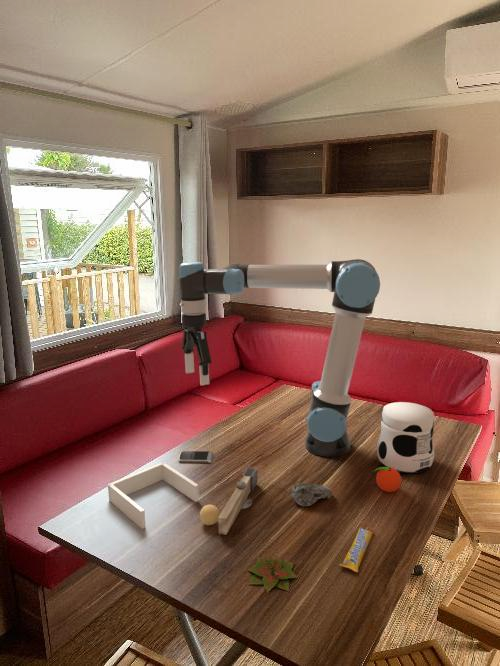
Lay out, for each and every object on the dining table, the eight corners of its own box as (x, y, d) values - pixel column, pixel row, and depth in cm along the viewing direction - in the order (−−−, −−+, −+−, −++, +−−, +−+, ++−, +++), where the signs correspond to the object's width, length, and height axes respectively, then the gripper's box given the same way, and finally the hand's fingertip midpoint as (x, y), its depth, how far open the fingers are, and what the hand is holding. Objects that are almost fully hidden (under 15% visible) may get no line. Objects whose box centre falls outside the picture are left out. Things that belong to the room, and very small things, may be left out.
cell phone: (180, 454, 163) (180, 450, 163) (213, 455, 163) (213, 451, 163) (177, 464, 157) (177, 460, 157) (212, 464, 157) (211, 460, 157)
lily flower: (302, 561, 113) (302, 544, 112) (295, 600, 102) (295, 582, 101) (251, 553, 116) (251, 537, 115) (239, 591, 104) (239, 572, 103)
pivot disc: (254, 498, 137) (254, 497, 137) (248, 510, 132) (248, 509, 132) (234, 495, 139) (234, 494, 139) (227, 507, 133) (227, 506, 133)
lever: (257, 482, 144) (257, 466, 143) (228, 535, 121) (228, 516, 119) (247, 480, 145) (246, 464, 144) (216, 533, 122) (216, 514, 120)
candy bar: (358, 529, 125) (359, 522, 124) (375, 533, 123) (375, 527, 122) (338, 571, 110) (338, 563, 110) (356, 577, 108) (357, 569, 108)
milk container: (382, 447, 167) (385, 397, 162) (435, 457, 159) (440, 406, 155) (370, 470, 152) (373, 416, 147) (429, 483, 144) (434, 427, 140)
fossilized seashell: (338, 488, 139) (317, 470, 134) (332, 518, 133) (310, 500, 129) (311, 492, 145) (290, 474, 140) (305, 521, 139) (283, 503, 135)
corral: (198, 500, 136) (198, 484, 135) (142, 528, 124) (140, 511, 123) (163, 477, 149) (162, 462, 148) (109, 500, 137) (107, 484, 136)
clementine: (370, 493, 139) (371, 471, 138) (373, 481, 146) (374, 459, 144) (399, 498, 137) (401, 475, 135) (401, 486, 143) (402, 464, 141)
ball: (222, 519, 128) (221, 502, 127) (215, 530, 123) (214, 513, 122) (204, 516, 129) (203, 499, 128) (197, 527, 125) (196, 510, 124)
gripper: (169, 307, 160) (173, 369, 165) (196, 321, 139) (199, 392, 144) (191, 305, 164) (194, 366, 169) (220, 318, 142) (223, 387, 147)
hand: (197, 378), depth 156 cm, fingers open, 13 cm apart
